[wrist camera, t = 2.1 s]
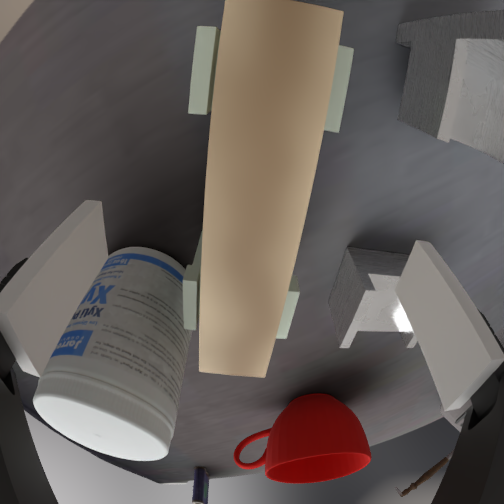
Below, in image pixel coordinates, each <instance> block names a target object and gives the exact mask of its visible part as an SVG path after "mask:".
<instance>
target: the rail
mask: <svg viewBox="0 0 504 504" xmlns="http://www.w3.org/2000/svg"><path fill="white" fill-rule="evenodd" d="M343 13H344V12H343V11H340V10H336V9H331V8H327V7H323V6H318V5H314V4H309V3H303V2H298V1H292V0H225V6H224V13H223V20H222V27H221V35H220V42H219V50H218V58H217V66H216V75H215V84H214V93H213V102H212V112H211V123H210V134H209V145H208V157H207V170H206V184H205V199H204V216H203V234H202V256H201V283H200V324H199V372H207V373H216V374H226V375H237V376H249V377H264V378H265V375H266V371H267V368H268V364H269V361H270V357H271V353H272V350H273V346H274V343H275V339H276V335H277V331H278V328H279V324H280V320H281V316H282V312H283V308H284V305H285V301H286V297H287V293H288V289H289V285H290V281H291V277H292V273H293V269H294V265H295V260H296V256H297V252H298V248H299V244H300V239H301V235H302V231H303V226H304V222H305V218H306V213H307V209H308V204H309V200H310V195H311V190H312V186H313V181H314V176H315V171H316V167H317V162H318V157H319V152H320V147H321V142H322V137H323V132H324V127H325V121H326V116H327V111H328V105H329V100H330V94H331V89H332V83H333V77H334V71H335V65H336V59H337V53H338V47H339V40H340V34H341V27H342V20H343Z"/></svg>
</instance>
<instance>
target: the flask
mask: <svg viewBox="0 0 504 504" xmlns="http://www.w3.org/2000/svg"><path fill="white" fill-rule="evenodd" d="M194 470H195V474H194V486H193V497H192V503H193V504H208V488H209V476H208V473H207V472H206V468H203V467H195V468H194Z"/></svg>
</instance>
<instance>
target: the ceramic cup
mask: <svg viewBox="0 0 504 504" xmlns="http://www.w3.org/2000/svg"><path fill="white" fill-rule="evenodd" d="M266 436H269V438H268V443H267V448H266V449H265V452H264V454H263V456H262V457H261V458H260V459H259V460H257V461H255V462H253V463H242V462H241V461H240V459H239V455H240V453H241V451H242V449H243V448H244V447H245V446H246V445H248V444H249V443H251V442H253V441H255V440H257V439H260V438H263V437H266ZM234 461H235V463H236V464H237V465H238V466H239V467H241V468H243V469H254V468H257V467H260V466H262V465H264V464H265V475H266V476H267V477H268V478H269V479H271V480H274V481H278V482H284V483H313V482H321V481H327V480H332V479H336V478H340V477H343V476H346V475H349V474H352V473H354V472H356V471H358V470H360V469H362V468H364V467H365V466H366V465H368V464H369V462H370V461H371V452H370V448H369V444H368V441H367V438H366V435H365V432H364V430H363V428H362V425H361V423H360V421H359V420H358V418H357V417H356V415H355V414H354V413H353V411H352V410H350V409H349V408H348V407H347V406H346V405H345V404H343V403H342V402H340V401H339V400H337V399H335V398H334V397H333V396H331V395H328V394H322V393H316V394H308V395H304V396H301V397H298V398H296V399H294V400H293V401H291V402H290V403H289V405H288V406H287V407H286V408H285V409H284V410H283V411H282V413H281V414H280V415H279V416H278V418H277V419H276V421H275V423H274V425H273V427H272V428H270V429H267V430H264V431H261V432H258V433H255V434H253V435H251V436H249V437H247V438H245V439H244V440H243V441H241V442H240V443H239V445H238V446H237V447H236V449H235V451H234Z"/></svg>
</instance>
